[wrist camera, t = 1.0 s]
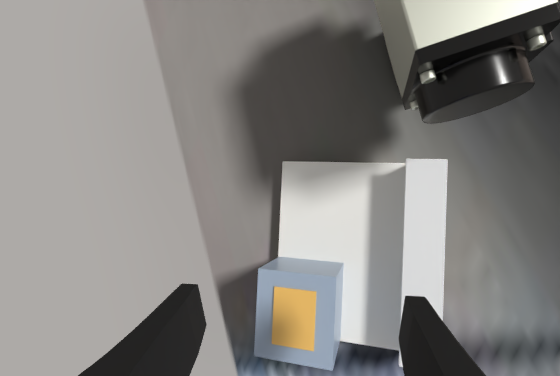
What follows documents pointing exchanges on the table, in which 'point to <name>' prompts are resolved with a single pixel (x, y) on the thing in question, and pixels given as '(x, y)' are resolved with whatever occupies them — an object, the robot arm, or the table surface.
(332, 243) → the rail board
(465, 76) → the pneumatic valve
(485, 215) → the table surface
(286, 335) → the block
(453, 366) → the robot arm
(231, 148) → the table surface
